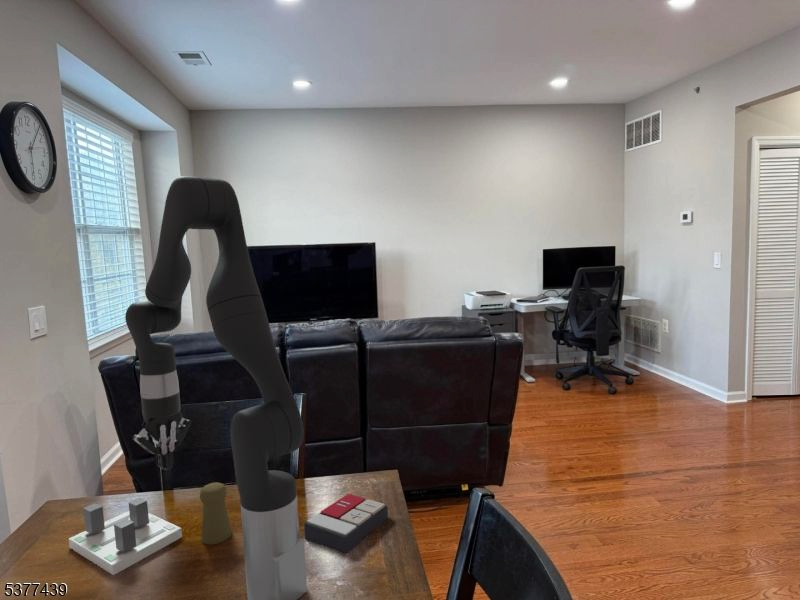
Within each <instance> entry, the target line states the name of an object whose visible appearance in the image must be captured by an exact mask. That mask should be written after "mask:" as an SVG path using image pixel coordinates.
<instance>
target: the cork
mask: <svg viewBox="0 0 800 600" xmlns="http://www.w3.org/2000/svg"><path fill="white" fill-rule="evenodd" d="M226 497H227V488H226V485H225V484H224V483H221V482H211V483H208V484H205V485H204V486H203V487H202V488H201V489H200V492H199V499H200V501H201V503H202V518H201V519H202V521H201V534H200V535H201V536H200V539H201V542H202V543H203V544H205V545H217V544H220V543H224V542H225V541H227V540H228V539H230V538H231V536H232V534H233V533H232V532H233V531H232V527H231V522H230V518H229V513H228V509H227V505H226V500H225V499H226Z"/></svg>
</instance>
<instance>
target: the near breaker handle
mask: <svg viewBox="0 0 800 600" xmlns="http://www.w3.org/2000/svg"><path fill="white" fill-rule="evenodd" d="M114 531H115V541H116V549H118V550H120V551H121V552H123V553H125V552H127V551H129V550H131V549H133V548H135V547H136V537H135V527H134V522H133V521H131V520H129V519H127V518H126V519H124V520H122V521H119V522H117V523H115V524H114Z"/></svg>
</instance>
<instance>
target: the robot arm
mask: <svg viewBox="0 0 800 600" xmlns="http://www.w3.org/2000/svg"><path fill="white" fill-rule="evenodd" d="M164 202H165V203H164V208H163V214H162V219H161V220H162V221H161V225H160V231H159V232H160V233H159V238H158V247H157V252H156V258H155V261H154V265H153V267H152V269H151V272H150V274H149V277H148V280H147V282H146V286H145V289H144V294H145V297H146V299H147V300H146V301H145V300H143V301H136V302H132V304H130V305H129V306H128V307H127V308H126V312H125V323H126V327H127V329H128V330H129V333H130V335H131V338H132V341H133V342H134V346H135V348H136V351H137V355H138V361H139V363H138V364H139V373H140V375H139V376H140V377H139V389H140V392H139V393H140V399H141V400H140V401H141V412H142V416H143V417H142V418H143V423H142V424H141V427H142V429H141V430H140V431H139V433H138V434H134V435H133V436H132V440H133V441H134V442H135V443H136V444H138V445H139V446H140V447H142V448H143V449H144V450H145V451H147V452H148V453H150V454H152V455H154V456H157V465H158V467H159V468H160V469H161V470H163V471H168V470H170V469H171V468H173V465H174V463H175V460H174V459H175V458H174V457H175V456H174V450H175V448H176V447H180V446H181V445H182V443H183V442H184V439H185V438H186V436H187V433H188V431H189V429H190V427H191V425H192V424H193V421H192V420H191V419H187V418H184V417H183V414H182V412H181V407H182V406H181V398H180V397H181V396H180V385H179V384H180V383H179V377H178V373H177V372H178V371H177V364H176V362H177V361H176V351H175V347H174V345H173V344H171V343H168V342H154V340H153V339H152V337H151V335H153V334H159V333H166V332H170V331H173V330H175V329H176V328H177V327H178V326H179V325H180V323H181V321H182V301H183V296H184V294H185V292H186V289H187V287H188V284H189V283H190V279H191V275H192V264H191V262H190V261H191V260H190V259H189V256H188V254H187V252H186V249H185V247H184V242H183V241H184V237H185V235H186V233H187V232H188V230H213V232H214V233H215V236H216V239H217V245H218V261H217V264H216V266H215V269H214V272H213V274H212V277H211V279H210V282H209V285H208V289H207V291H206V296H205V297H206V300H205V302H206V307H207V312H208V316H209V320H210V324H211V327H212V330H213V334H214V336H215V338H216V340H217V341H218V343H219V344H220V345H221V346H222V348H223V349H225V351H226V352H227V353H228V354H230V356H232V358H233V359H235V360H236V361H237V362H238V364H240V365H241V366H242V367H243V368H244V369H246V371H247V372H248V373H249V374H250V375H251V377H252V379H254V381H255V383H256V385H257V388H258V389H259V393H260V394H261V397H262V401H263V403H261V404H258V405H254V406H250V407H247V408H245V409H242V410H238V411H237V412H236V413H234V415H233V417H232V419H231V422H230V432H229V433H230V434H229V435H230V443H231V452H232V457H233V465H234V466H233V468H234V474H235V476H234V477H235V482H236V486H237V491H238V493H239V500H240V501H239V502H240V514H241V516H240V517H241V528H242V529H241V530H242V531H241V532H242V542H243V543H242V544H243V555H244V557H243V558H244V570H245V581H246V593H247V600H299V599H300V598H301V597H302V596H303V595H304V594H306V593H307V592H308V587H307V585H308V584H307V568H306V554H305V553H306V552H305V541H304V539H302V538H300V526H299V525H300V524H299V523H300V522H299V510H298V509H299V507H298V491H297V482H296V478H295V476H293V475H292V474H290V473H289V472H286V471H282V470H275V469H273V470H271V469H270V470H269V466H268V463H269V462H270V461H273V460H276V459H278V458H281V457H283V456H285V455H287V454H290V453H292V452H295V451H297V450H299V449H300V447H301V446H302V444H303V441H304V439H305V438H304V437H305V429H304V423H303V419H302V416H301V413H300V410H299V407H298V404H297V401H296V399H295V396H294V394H293V392H292V389H291V387H290V383H289V381H288V379H287V376H286V374H285V372H284V368H283V366H282V363H281V360H280V358H279V354H278V351H277V348H276V347H277V346H276V344H275V342H274V341H275V340H274V337H273V334H272V330H271V326H270V322H269V318H268V315H267V311H266V308H265V304H264V302H263V301H264V300H263V298H262V294H261V292H260V289H259V286H258V283H257V279H256V276H255V273H254V268H253V265H252V262H251V258H250V253H249V249H248V245H247V240H246V234H245V229H244V225H243V224H244V223H243V219H242V218H243V217H242V213H241V208H240V204H239V200H238V197H237V194H236V192H235V189H234V187H233V186H232V184H230V182H228V181H226V180H224V179H220V178H210V177H202V176H201V177H200V176H191V175H182V176H178V177H176V178H175V179H174V180H173V181H172V182H171V184H170V186H169V189H168V191H167V194H166V197H165V201H164ZM149 437H150V438H152V442H153V443H154V444H153V443H152V442H150V441H149V440H150V439H149Z"/></svg>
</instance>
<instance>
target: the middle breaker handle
mask: <svg viewBox="0 0 800 600" xmlns="http://www.w3.org/2000/svg"><path fill="white" fill-rule="evenodd" d="M128 511H129V513H130V520H131V521H133V522H134V527H136V528H140V527H142V526H144V525H146V524H148V523H149V516H148V513H149V507H148V500H147V499H144V498H142V497H137V498H134V499H133V500H131V501H129V502H128Z"/></svg>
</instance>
